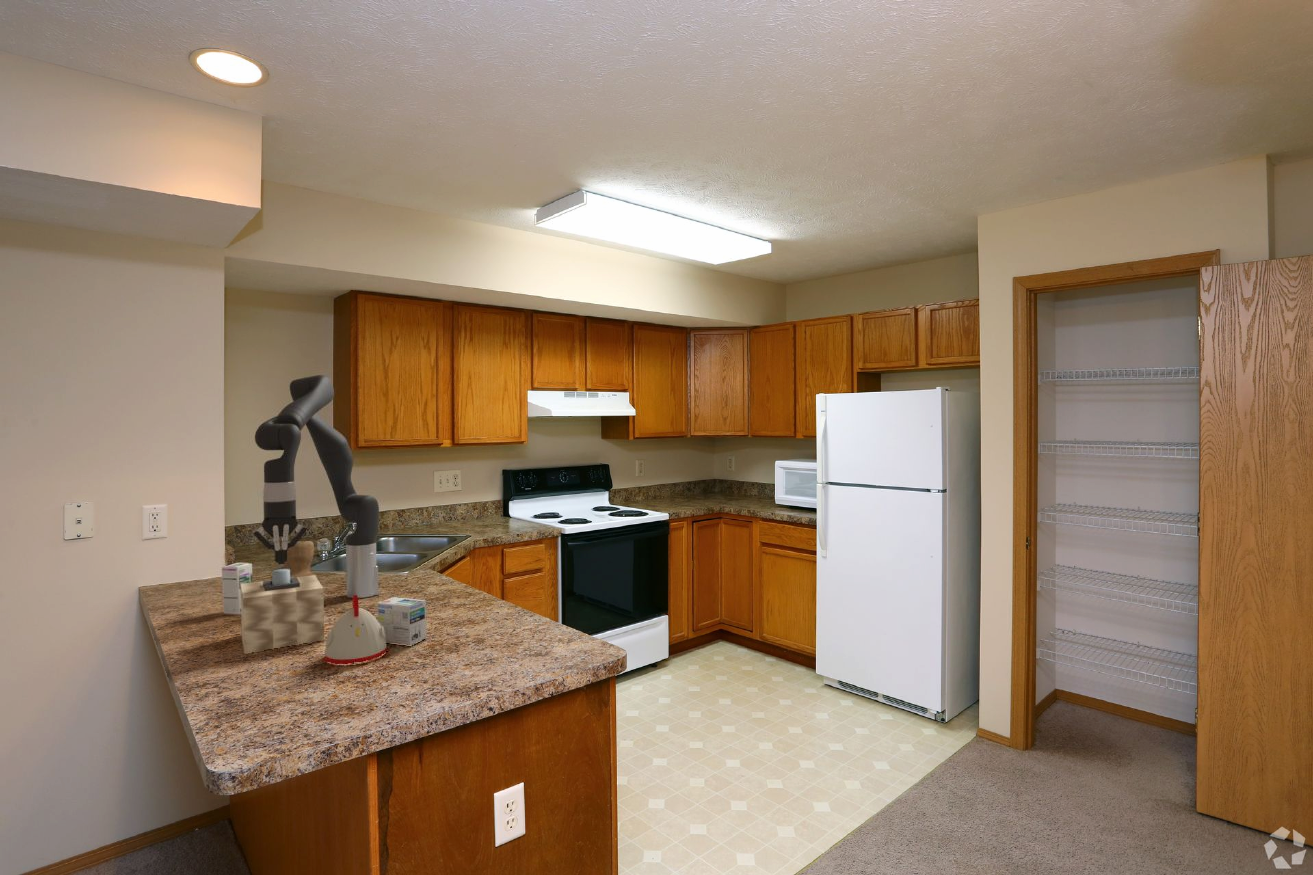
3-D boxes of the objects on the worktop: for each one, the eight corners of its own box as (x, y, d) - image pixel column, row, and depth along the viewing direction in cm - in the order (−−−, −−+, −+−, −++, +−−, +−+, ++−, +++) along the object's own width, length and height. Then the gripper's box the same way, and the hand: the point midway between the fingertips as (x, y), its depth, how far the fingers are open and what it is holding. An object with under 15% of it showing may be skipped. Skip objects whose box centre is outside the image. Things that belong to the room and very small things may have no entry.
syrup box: (239, 614, 203) (238, 566, 202) (222, 613, 204) (221, 565, 204) (254, 609, 208) (253, 562, 208) (237, 608, 210) (236, 562, 209)
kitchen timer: (325, 670, 158) (324, 606, 157) (324, 652, 170) (323, 592, 169) (389, 660, 164) (388, 598, 164) (383, 643, 176) (382, 586, 176)
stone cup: (316, 576, 253) (315, 536, 253) (318, 582, 243) (317, 541, 243) (269, 581, 246) (268, 540, 245) (269, 588, 235) (268, 545, 235)
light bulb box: (427, 639, 179) (427, 599, 179) (410, 647, 173) (409, 605, 173) (394, 635, 183) (393, 595, 182) (376, 643, 176) (375, 602, 176)
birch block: (315, 623, 193) (314, 575, 193) (324, 640, 178) (323, 587, 178) (241, 634, 184) (240, 583, 183) (244, 653, 169) (243, 598, 168)
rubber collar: (296, 580, 186) (296, 577, 186) (299, 586, 179) (299, 582, 179) (263, 584, 182) (263, 581, 182) (265, 591, 175) (265, 587, 175)
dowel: (290, 612, 184) (289, 568, 183) (291, 615, 180) (290, 571, 180) (272, 614, 181) (271, 570, 181) (273, 618, 178) (272, 573, 178)
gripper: (306, 495, 187) (307, 558, 187) (250, 499, 180) (251, 564, 180) (309, 498, 181) (310, 563, 181) (251, 502, 173) (252, 569, 174)
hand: (281, 563), depth 180 cm, fingers closed
